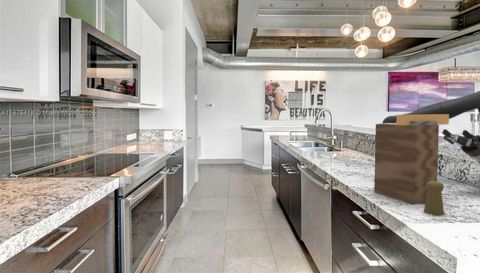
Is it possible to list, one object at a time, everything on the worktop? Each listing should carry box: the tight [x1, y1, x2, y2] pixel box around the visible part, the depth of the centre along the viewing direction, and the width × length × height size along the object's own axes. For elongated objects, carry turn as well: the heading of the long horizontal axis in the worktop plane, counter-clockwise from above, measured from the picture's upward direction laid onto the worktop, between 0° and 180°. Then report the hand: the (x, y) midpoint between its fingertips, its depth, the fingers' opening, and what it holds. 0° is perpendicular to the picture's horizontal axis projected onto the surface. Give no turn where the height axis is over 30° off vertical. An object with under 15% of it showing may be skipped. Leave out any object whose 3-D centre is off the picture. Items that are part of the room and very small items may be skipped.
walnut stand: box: [373, 121, 440, 205], centre depth 128 cm, size 12×20×32 cm, turn 18°
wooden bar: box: [396, 114, 450, 126], centre depth 123 cm, size 22×4×4 cm, turn 108°
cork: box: [423, 180, 445, 216], centre depth 107 cm, size 6×6×11 cm
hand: (453, 131), depth 128 cm, fingers open, 8 cm apart
